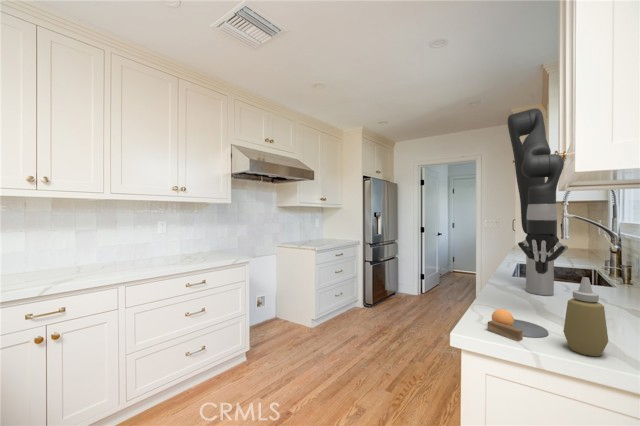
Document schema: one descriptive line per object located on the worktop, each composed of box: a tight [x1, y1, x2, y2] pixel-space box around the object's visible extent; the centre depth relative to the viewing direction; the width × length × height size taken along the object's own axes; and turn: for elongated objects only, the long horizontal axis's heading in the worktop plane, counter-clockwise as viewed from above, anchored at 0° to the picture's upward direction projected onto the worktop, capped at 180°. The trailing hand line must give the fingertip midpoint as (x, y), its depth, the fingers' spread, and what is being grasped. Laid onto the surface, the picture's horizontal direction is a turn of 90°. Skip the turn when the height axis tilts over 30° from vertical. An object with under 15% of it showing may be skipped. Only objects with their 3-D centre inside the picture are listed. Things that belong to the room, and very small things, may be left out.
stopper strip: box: [487, 319, 523, 342], centre depth 79 cm, size 2×8×2 cm, turn 32°
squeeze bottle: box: [563, 276, 609, 357], centre depth 70 cm, size 8×8×18 cm
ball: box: [491, 308, 514, 327], centre depth 83 cm, size 6×6×6 cm
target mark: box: [512, 318, 549, 339], centre depth 84 cm, size 13×13×1 cm
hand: (541, 273), depth 91 cm, fingers closed
